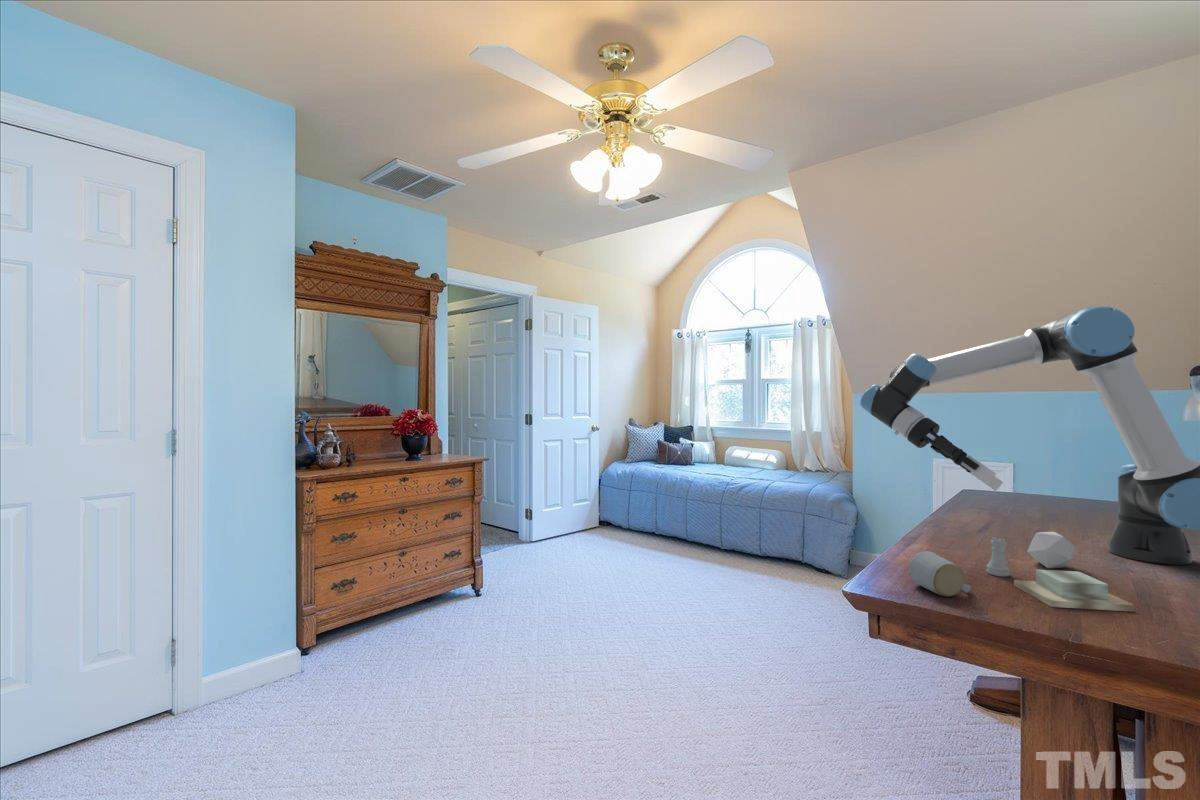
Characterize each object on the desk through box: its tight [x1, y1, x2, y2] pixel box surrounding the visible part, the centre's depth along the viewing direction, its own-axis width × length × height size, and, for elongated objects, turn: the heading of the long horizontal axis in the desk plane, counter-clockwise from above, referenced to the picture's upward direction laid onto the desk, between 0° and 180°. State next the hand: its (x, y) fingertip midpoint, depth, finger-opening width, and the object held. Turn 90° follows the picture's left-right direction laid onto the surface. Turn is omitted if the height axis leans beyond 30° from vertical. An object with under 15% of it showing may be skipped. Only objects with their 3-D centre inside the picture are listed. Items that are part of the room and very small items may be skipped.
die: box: [1026, 531, 1076, 569], centre depth 133 cm, size 8×9×10 cm
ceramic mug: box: [908, 550, 972, 598], centre depth 115 cm, size 10×8×7 cm
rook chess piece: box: [985, 536, 1011, 578], centre depth 127 cm, size 4×4×8 cm
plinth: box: [1013, 569, 1135, 612], centre depth 112 cm, size 14×12×4 cm
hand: (995, 482), depth 132 cm, fingers open, 13 cm apart
